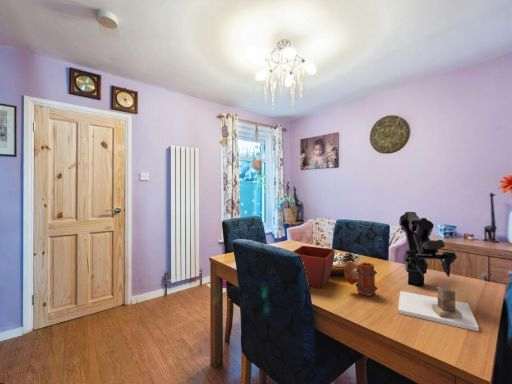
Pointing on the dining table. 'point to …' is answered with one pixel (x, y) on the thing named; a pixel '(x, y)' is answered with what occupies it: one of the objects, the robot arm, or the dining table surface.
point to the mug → (362, 277)
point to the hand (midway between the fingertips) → (435, 275)
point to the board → (423, 309)
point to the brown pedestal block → (446, 304)
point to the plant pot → (317, 264)
